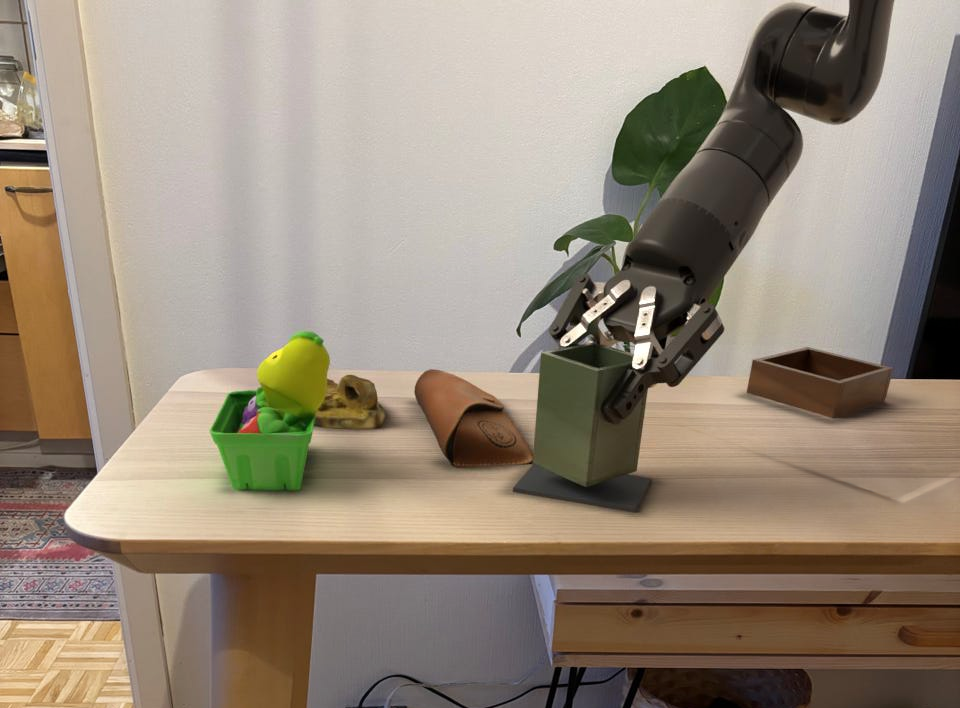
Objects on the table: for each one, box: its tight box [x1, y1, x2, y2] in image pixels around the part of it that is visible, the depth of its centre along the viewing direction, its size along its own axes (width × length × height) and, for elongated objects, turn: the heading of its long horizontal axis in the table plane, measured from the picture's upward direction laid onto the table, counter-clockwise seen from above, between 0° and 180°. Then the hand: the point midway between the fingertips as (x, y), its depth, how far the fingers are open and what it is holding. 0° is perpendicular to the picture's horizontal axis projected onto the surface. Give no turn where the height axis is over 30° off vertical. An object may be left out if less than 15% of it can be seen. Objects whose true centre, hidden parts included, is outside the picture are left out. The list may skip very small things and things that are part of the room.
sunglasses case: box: [414, 368, 533, 468], centre depth 88 cm, size 18×7×7 cm
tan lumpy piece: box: [314, 374, 386, 430], centre depth 92 cm, size 9×5×15 cm
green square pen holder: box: [531, 342, 649, 487], centre depth 75 cm, size 6×6×9 cm
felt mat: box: [512, 464, 653, 514], centre depth 78 cm, size 10×7×1 cm
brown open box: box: [746, 346, 895, 419], centre depth 101 cm, size 10×10×4 cm
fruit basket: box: [209, 330, 331, 491], centre depth 76 cm, size 11×9×11 cm
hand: (576, 405), depth 73 cm, fingers closed on green square pen holder, 6 cm apart
